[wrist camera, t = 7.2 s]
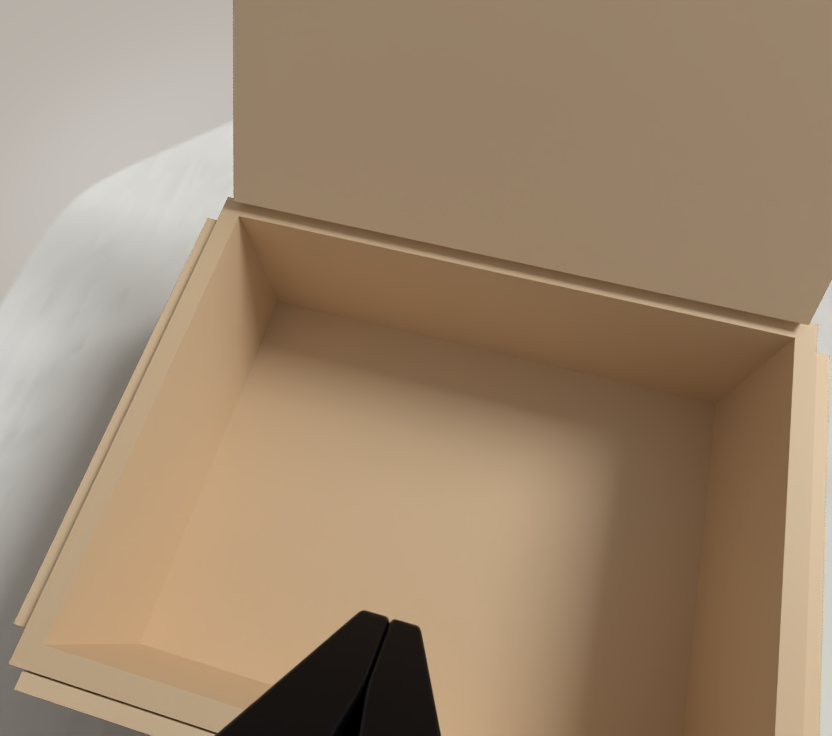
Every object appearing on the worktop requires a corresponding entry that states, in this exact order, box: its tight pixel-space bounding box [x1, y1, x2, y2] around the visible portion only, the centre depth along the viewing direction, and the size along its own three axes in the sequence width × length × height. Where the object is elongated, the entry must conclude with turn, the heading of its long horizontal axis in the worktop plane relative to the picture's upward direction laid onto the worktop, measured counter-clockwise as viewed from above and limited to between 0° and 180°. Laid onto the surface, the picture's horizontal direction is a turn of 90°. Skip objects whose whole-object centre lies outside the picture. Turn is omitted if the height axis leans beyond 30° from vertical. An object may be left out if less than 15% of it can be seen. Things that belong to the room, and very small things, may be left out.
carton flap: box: [233, 0, 832, 325], centre depth 16 cm, size 11×17×1 cm
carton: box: [9, 197, 830, 736], centre depth 19 cm, size 14×19×6 cm
